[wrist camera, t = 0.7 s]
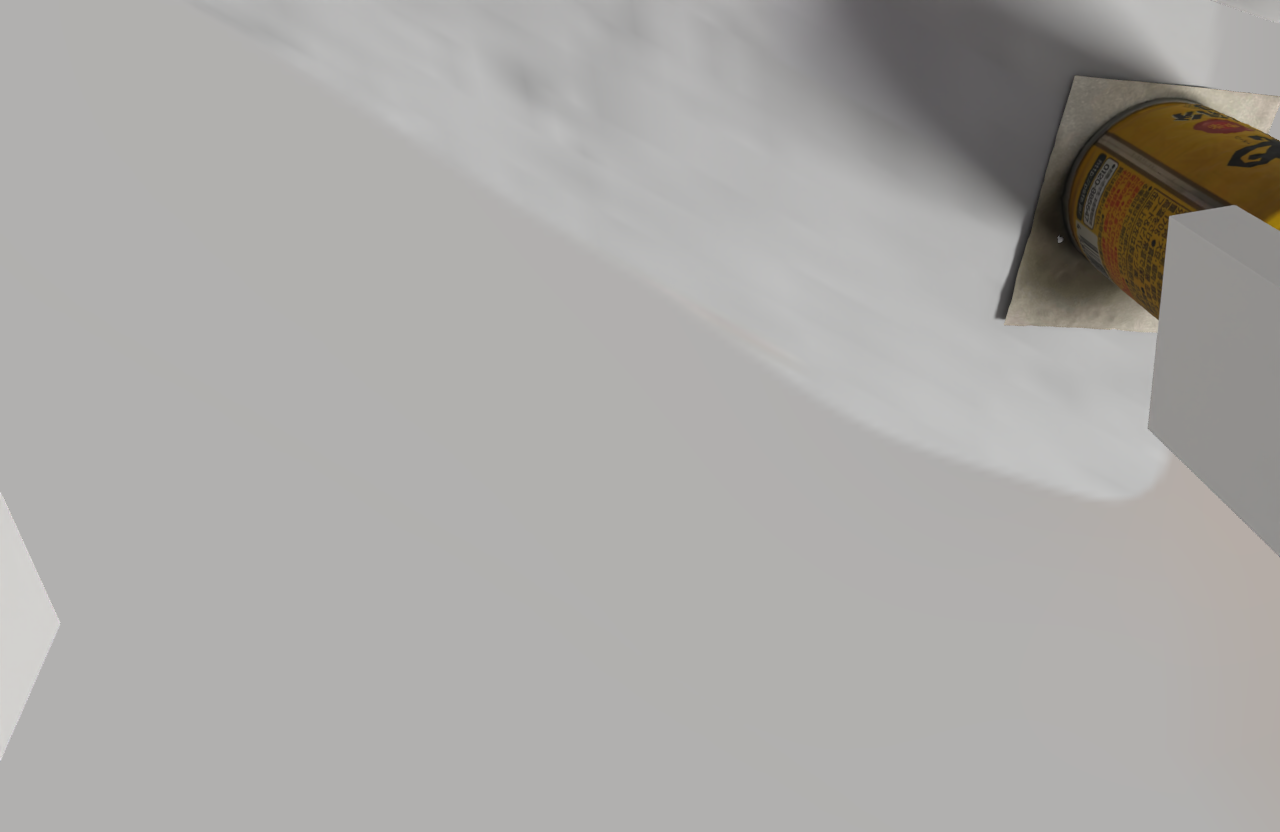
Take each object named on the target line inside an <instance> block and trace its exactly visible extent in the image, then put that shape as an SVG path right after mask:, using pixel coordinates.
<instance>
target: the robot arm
mask: <svg viewBox="0 0 1280 832" xmlns="http://www.w3.org/2000/svg"><path fill="white" fill-rule="evenodd" d="M1148 429H1149V430H1150V431H1151V432H1152V433H1153V434H1154V435H1155V436H1156V437H1157V438H1158V439H1159V440H1160V441H1161V442H1162V443H1163V444H1164V445H1165V446H1166V447H1167V448H1168V449H1169V450H1170V451H1171V452H1172V453H1173V454H1174V455H1176V456H1177V457H1178V458H1179V459H1180V460H1181V461H1182V462H1183V463H1184V464H1185V465H1186V466H1187V467H1188V468H1189V469H1190V470H1191V471H1192V472H1193V473H1194V474H1195V475H1196V476H1197V477H1198V478H1199V479H1200V480H1201V481H1202V482H1203V483H1204V484H1205V485H1206V486H1207V487H1208V488H1209V489H1210V490H1211V491H1212V492H1213V493H1215V494H1216V495H1217V496H1218V497H1219V498H1220V499H1221V500H1222V501H1223V502H1224V503H1225V504H1226V505H1227V506H1228V507H1229V508H1230V509H1231V510H1232V511H1233V512H1234V513H1235V514H1236V515H1237V516H1238V517H1239V518H1240V519H1241V520H1242V521H1243V522H1244V523H1245V524H1246V525H1247V526H1248V527H1250V529H1251V530H1252V531H1254V532H1255V533H1256V534H1257V535H1258V536H1259V537H1260V538H1261V539H1262V540H1263V541H1264V542H1265V543H1266V544H1267V545H1268V546H1269V547H1270V548H1271V549H1272V550H1273V551H1274V552H1275V553H1276V554H1277V555H1278V556H1279V557H1280V231H1279V230H1277V229H1275V228H1274V227H1272V226H1270V225H1269V224H1267V223H1265V222H1263V221H1262V220H1260V219H1258V218H1257V217H1255V216H1253V215H1251V214H1250V213H1248V212H1246V211H1245V210H1243V209H1241V208H1239V207H1238V206H1236V205H1231V206H1225V207H1220V208H1214V209H1208V210H1202V211H1196V212H1190V213H1184V214H1178V215H1172V216H1169V224H1168V234H1167V243H1166V253H1165V263H1164V273H1163V283H1162V293H1161V303H1160V312H1159V322H1158V332H1157V342H1156V352H1155V362H1154V372H1153V381H1152V391H1151V401H1150V411H1149V421H1148ZM59 626H60V621H59V619H58V617H57V615H56V613H55V610H54V608H53V606H52V604H51V601H50V599H49V597H48V595H47V593H46V590H45V588H44V586H43V584H42V582H41V579H40V578H39V575H38V573H37V571H36V569H35V566H34V564H33V562H32V560H31V558H30V555H29V553H28V551H27V549H26V546H25V544H24V542H23V540H22V538H21V535H20V533H19V531H18V529H17V527H16V524H15V522H14V520H13V518H12V516H11V513H10V511H9V509H8V507H7V505H6V502H5V500H4V498H3V496H2V494H1V491H0V761H1V759H2V756H3V754H4V752H5V749H6V747H7V745H8V743H9V740H10V738H11V736H12V733H13V731H14V729H15V727H16V724H17V722H18V720H19V718H20V715H21V713H22V710H23V708H24V706H25V704H26V702H27V699H28V697H29V695H30V692H31V690H32V687H33V685H34V683H35V681H36V679H37V676H38V674H39V672H40V670H41V667H42V665H43V663H44V660H45V658H46V656H47V654H48V651H49V649H50V646H51V644H52V642H53V640H54V637H55V635H56V633H57V631H58V628H59Z"/></svg>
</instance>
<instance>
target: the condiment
mask: <svg viewBox="0 0 1280 832" xmlns="http://www.w3.org/2000/svg"><path fill="white" fill-rule="evenodd" d="M1279 106H1280V96H1272V95H1262V94H1252V93H1245V92H1234V91H1226V90H1218V89H1208V88H1199V87H1190V86H1179V85H1169V84H1158V83H1149V82H1139V81H1129V80H1122V81H1121V80H1114V79H1105V78H1095V77H1085V76H1077V75H1075V77H1074V81H1073V84H1072V88H1071V91H1070V94H1069V97H1068V101H1067V104H1066V107H1065V110H1064V114H1063V117H1062V120H1061V123H1060V126H1059V129H1058V132H1057V136H1056V140H1055V146H1054V149H1053V151H1052V153H1051V156H1050V159H1049V163H1048V166H1047V169H1046V173H1045V179H1044V183H1043V185H1042V187H1041V191H1040V196H1039V200H1038V205H1037V208H1036V210H1035V215H1034V221H1033V226H1032V230H1031V233H1030V236H1029V238H1028V241H1027V244H1026V247H1025V251H1024V255H1023V258H1022V261H1021V264H1020V267H1019V270H1018V274H1017V278H1016V282H1015V288H1014V293H1013V297H1012V301H1011V304H1010V306H1009V309H1008V313H1007V316H1006V320H1005V323H1004V325H1015V326H1028V325H1033V326H1053V327H1076V328H1092V329H1107V330H1110V329H1114V328H1115V329H1117V330H1124V331H1136V332H1156V333H1157V332H1158V322H1159V312H1160V303H1161V293H1162V283H1163V273H1164V263H1165V253H1166V243H1167V234H1168V224H1169V216H1172V215H1178V214H1184V213H1190V212H1196V211H1202V210H1208V209H1214V208H1220V207H1225V206H1231V205H1236V206H1238V207H1239V208H1241V209H1243V210H1245V211H1246V212H1248V213H1250V214H1251V215H1253V216H1255V217H1257V218H1258V219H1260V220H1262V221H1263V222H1265V223H1267V224H1269V225H1270V226H1272V227H1274V228H1275V229H1277V230H1279V231H1280V141H1279V140H1277V139H1275V138H1273V137H1271V136H1270V135H1268V133H1269V129H1270V127H1271V125H1272V122H1273V119H1274V117H1275V115H1276V112H1277V110H1278V108H1279ZM1059 235H1060V237H1063V242H1062V243H1058V238H1057V237H1058V236H1059Z"/></svg>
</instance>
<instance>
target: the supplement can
mask: <svg viewBox="0 0 1280 832" xmlns="http://www.w3.org/2000/svg"><path fill="white" fill-rule="evenodd" d="M1211 1H1214V2H1217V3H1220V4H1223V5H1226V6H1228V7H1231V8H1234V9H1237V10H1240V11H1243V12H1245V13H1248V14H1251V15H1254V16H1257V17H1260V18H1262V19H1265V20H1268V21H1273V22H1277V23H1280V0H1211Z"/></svg>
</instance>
